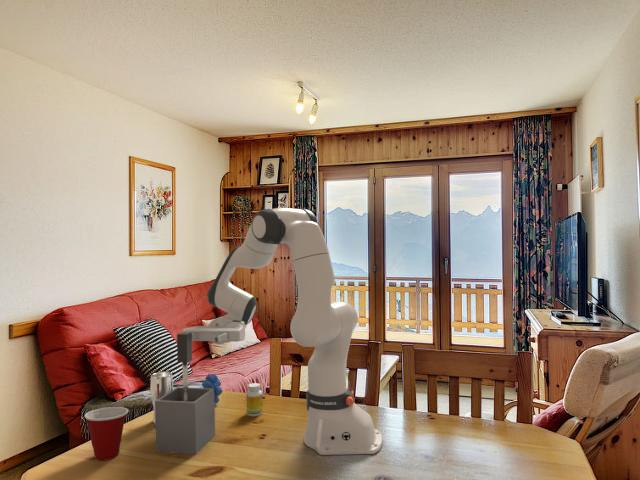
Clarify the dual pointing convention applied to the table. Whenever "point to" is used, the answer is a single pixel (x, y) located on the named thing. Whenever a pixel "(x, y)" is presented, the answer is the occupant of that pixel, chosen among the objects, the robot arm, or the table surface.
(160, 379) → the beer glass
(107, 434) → the plastic cup
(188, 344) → the plunger
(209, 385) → the grapes
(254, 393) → the supplement bottle
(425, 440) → the table surface
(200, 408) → the box
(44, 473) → the table surface
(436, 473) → the table surface
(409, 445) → the table surface
